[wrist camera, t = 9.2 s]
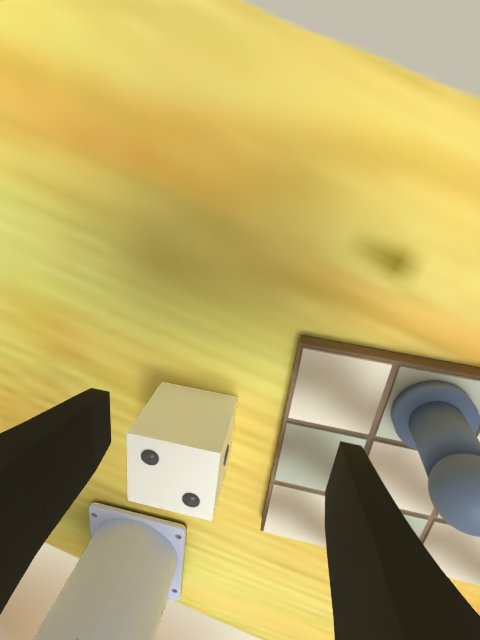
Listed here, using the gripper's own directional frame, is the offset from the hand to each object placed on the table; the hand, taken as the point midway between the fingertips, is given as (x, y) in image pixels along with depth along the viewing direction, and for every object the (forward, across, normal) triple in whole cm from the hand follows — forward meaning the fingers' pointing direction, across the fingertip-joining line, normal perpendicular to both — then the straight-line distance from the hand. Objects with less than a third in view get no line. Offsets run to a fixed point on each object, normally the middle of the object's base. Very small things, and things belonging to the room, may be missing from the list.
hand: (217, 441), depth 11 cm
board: (+10, -10, +8) cm, 16 cm away
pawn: (+9, -10, +3) cm, 14 cm away
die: (+10, +3, +8) cm, 13 cm away
